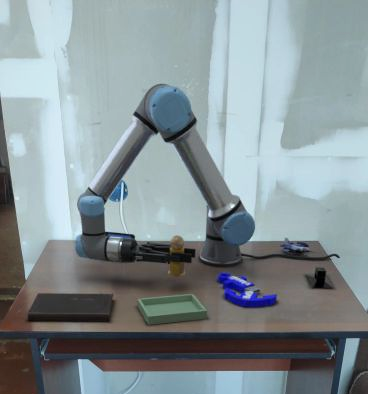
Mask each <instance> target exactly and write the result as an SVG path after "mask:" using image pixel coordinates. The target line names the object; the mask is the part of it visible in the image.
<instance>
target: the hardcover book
mask: <svg viewBox="0 0 368 394" xmlns="http://www.w3.org/2000/svg"><path fill="white" fill-rule="evenodd" d="M113 298H114V293H65V292H64V293H62V292H61V293H60V292H59V293H58V292H57V293H56V292H55V293H54V292H52V293H51V292H50V293H49V292H48V293H47V292H46V293H45V292H38V293H36V296H35V297H34V300H33V302H32V304H31V306H30V308H29V310H28V312H27V320H28V321H31V322H36V321H37V322H110V319H111V315H112V310H113V309H112V308H113V303H114V299H113Z"/></svg>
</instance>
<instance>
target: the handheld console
mask: <svg viewBox="0 0 368 394" xmlns="http://www.w3.org/2000/svg"><path fill="white" fill-rule="evenodd" d="M105 235H106V236H108V237H122V238H123V239H124V238H132V239H135V240H136V235H135V234H133V233H124V232H115V231H105Z"/></svg>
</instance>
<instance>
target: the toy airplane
mask: <svg viewBox="0 0 368 394" xmlns="http://www.w3.org/2000/svg"><path fill="white" fill-rule="evenodd" d="M280 247H281V248H283V249H281V251H282V252H285V254H286V255H289V253H294V254H295V253H296V254H303V253H305V254H304V257H308V253H312V254H313V253H314V254H319V253H318V252H315V251H312V250H310V248H309V247H310V246H309V244H308V243H306V242H303V241H301V242H300V241H297V242H296V244H295V243H294V242H290V240H289V238H288V237H284V241H283V243H282V244H280Z"/></svg>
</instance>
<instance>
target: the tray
mask: <svg viewBox="0 0 368 394" xmlns="http://www.w3.org/2000/svg"><path fill="white" fill-rule="evenodd" d="M137 308H138V310H139V312H140V313H141V315H142V317H143V318H144V321H145V322H146V324H147V325H148V326H150V325H160V324H169V323H178V322H189V321H198V320H207V318H208V317H207V315H208V310H207V309H206V307H204V305H203V304H202V303H201V302H200V301H199V299H198V298H197V297H196V296H195V295H194V293H187V294H175V295H165V296H155V297H154V296H153V297H144V298H137Z"/></svg>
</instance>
